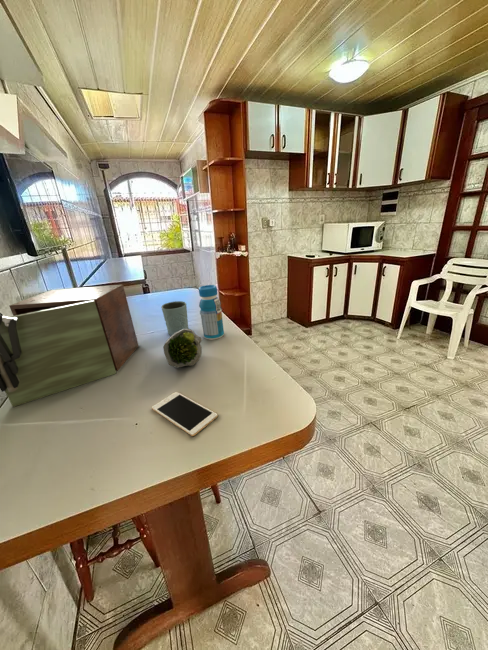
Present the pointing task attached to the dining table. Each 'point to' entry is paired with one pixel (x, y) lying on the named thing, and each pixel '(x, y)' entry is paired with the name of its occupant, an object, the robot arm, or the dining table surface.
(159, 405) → the cell phone
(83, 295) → the cupboard
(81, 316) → the cupboard door
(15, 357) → the robot arm
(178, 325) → the grey green cup
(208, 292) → the beverage bottle
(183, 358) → the potted plant
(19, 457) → the dining table surface
